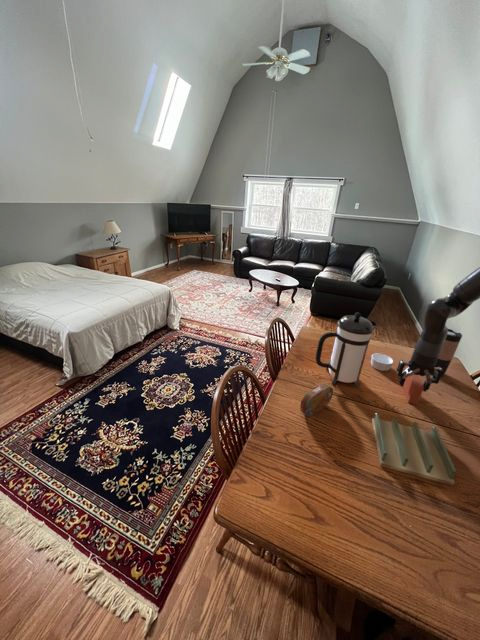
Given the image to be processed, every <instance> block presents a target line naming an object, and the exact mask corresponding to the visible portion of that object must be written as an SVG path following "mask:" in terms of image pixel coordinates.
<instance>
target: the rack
mask: <svg viewBox="0 0 480 640" xmlns="http://www.w3.org/2000/svg"><path fill="white" fill-rule="evenodd" d="M371 423H372V428H373V434H374V435H373V436H374V440H375V444H376V450H377V456H378V461H379V466H380V467H384V468H387V469H390V470H394V471H398V472H401V473H404V474H409V475H411V476H416V477H419V478H423V479H426V480H430V481H434V482H436V483H437V482H438V483H441V484H444V485H449V486H451V487H452V486H454V485H455V484H456V483H455V479H454V477H455V476H456V474H457V469H456V467H455V465H454V463H453V460H452V458H451V457H450V454H449V452H448V450H447V447H446V445H445V443H444V441H443V439H442V437H441V435H440V433H439V430H438V428H437V427H436V426H432V429H431V430H427V429H422V428H420V427H419V425H418V422H416V421H415V422H413V424H412V426H409V425H405V424H401V423H399V422H398V419H397V417H393V418H392V420H391V421H388V420H385V419H384V420H383V419H380V415H379V413H377V412H376V413H375V415H374V417H372V419H371Z"/></svg>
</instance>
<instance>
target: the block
mask: <svg viewBox="0 0 480 640" xmlns="http://www.w3.org/2000/svg"><path fill="white" fill-rule="evenodd" d="M405 379H406V380H405V383H404V385H403V387H402V390H403V392H404V396H405V398H406V401H407V403H409V404H414V405H418V403H419V401H420V398H421V396H422V393H423V392H424V391H423V389H424V386H423V384H424V383H423V382H422V380H421V378H420V375H414V374H413V375H412V376H409V377H407V378H405Z"/></svg>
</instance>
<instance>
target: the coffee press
mask: <svg viewBox="0 0 480 640" xmlns="http://www.w3.org/2000/svg"><path fill="white" fill-rule="evenodd" d="M372 334H375V331H374V327H373V323H372V322H371V321H370V320H369V319H367V318H365V317H364V316H362V314H361V313H360V312H355V313H354V314H349V315H344V316H342V317H341V318H339V320H338V321H337V329H336V332H333V331H328V332H325V333H323V334H322V335H321V336H320V337H319V339H318V342H317V347H316V353H315V361H316V364H317V365H318V366H319V367H321V368H325V370H326V371H327V372H328V373H329V375H330V376H331V377H332V378H333V380H332V381H331V384H332V385H333V386H336V385H337V384H338V382H341V383H345V384H351V383H354V385H355V387H357V388H358V387H360V386H361V381H360V375H361V373H362V368H363V365H364V361H365V359H366V354H367V351H368V349H369V348H368V347H369V344H370V342H371V337H372ZM328 338H334V343H333V348H332V351H331V356H330V360H329V362H322V360H321V357H322V352H323V346H324V343H325V341H326V340H327V339H328Z"/></svg>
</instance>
